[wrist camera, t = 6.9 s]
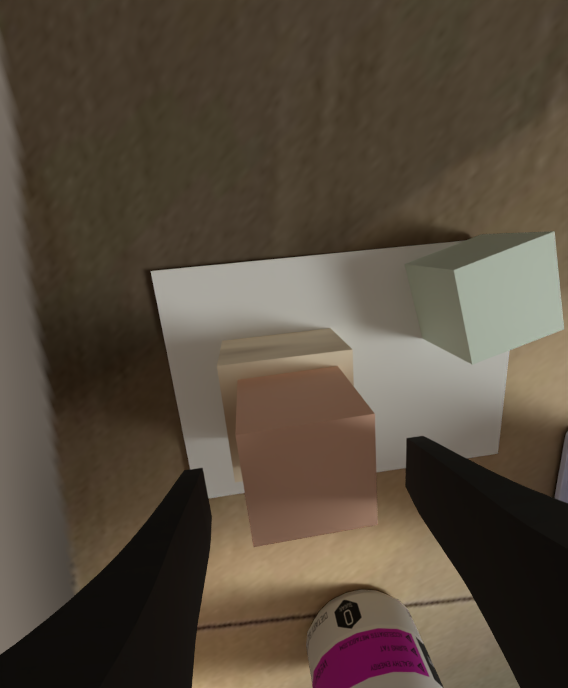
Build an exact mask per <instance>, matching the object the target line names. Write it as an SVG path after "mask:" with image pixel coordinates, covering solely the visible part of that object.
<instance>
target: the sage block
mask: <svg viewBox="0 0 568 688" xmlns="http://www.w3.org/2000/svg"><path fill="white" fill-rule="evenodd" d="M404 265H405V269H406V273H407V277H408V281H409V285H410V289H411V293H412V298H413V302H414V306H415V310H416V314H417V318H418V322H419V326H420V331H421V335H422V339H424V340H426V341H428V342H430V343H432V344H434V345H436V346H438V347H440V348H441V349H443V350H445V351H447V352H449V353H451V354H453V355H455V356H457V357H459V358H460V359H462V360H464V361H466V362H468V363H470V364H472V365H473V364H476V363H478V362H481V361H483V360H486V359H488V358H491V357H494V356H496V355H499V354H501V353H504V352H507V351H509V350H512V349H514V348H517V347H519V346H522V345H525V344H527V343H530V342H532V341H535V340H537V339H540V338H543V337H545V336H548V335H550V334H553V333H556V332H558V331H561V330H563V329H564V324H563V313H562V303H561V293H560V283H559V273H558V263H557V253H556V243H555V233H554V231H552V232H528V233H504V234H481V235H479V236H476V237H474V238H471V239H468V240H466V241H463V242H461V243H458V244H455V245H453V246H450V247H448V248H445V249H442V250H440V251H437V252H435V253H432V254H429V255H427V256H424V257H422V258H419V259H416V260H414V261H411V262H409V263H406V264H404Z"/></svg>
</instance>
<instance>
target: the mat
mask: <svg viewBox="0 0 568 688" xmlns="http://www.w3.org/2000/svg"><path fill="white" fill-rule="evenodd" d="M465 241H466V240H465ZM461 242H463V241H455V242H445V243H434V244H424V245H414V246H403V247H393V248H382V249H372V250H362V251H351V252H341V253H331V254H320V255H310V256H300V257H289V258H279V259H269V260H258V261H248V262H238V263H227V264H217V265H206V266H196V267H186V268H175V269H165V270H155V271H151V275H152V280H153V285H154V290H155V295H156V300H157V305H158V311H159V316H160V321H161V326H162V331H163V336H164V341H165V346H166V351H167V356H168V361H169V366H170V371H171V376H172V381H173V386H174V391H175V396H176V401H177V406H178V411H179V416H180V421H181V426H182V431H183V436H184V441H185V446H186V451H187V456H188V461H189V466H190V469H197V468H203V472H204V478H205V483H206V488H207V494H208V498H215V497H221V496H228V495H234V494H241V493H245V491H244V485H243V481H241V482H235V479H234V473H233V467H232V460H231V454H230V447H229V441H228V435H227V428H226V422H225V415H224V409H223V402H222V396H221V390H220V383H219V377H218V370H217V363H218V358H219V354H220V349H221V344H222V341H224V340H233V339H241V338H250V337H259V336H267V335H276V334H285V333H293V332H302V331H311V330H319V329H328V328H331V329H332V330H333V331H334V332H335V333H336V334H337V335H338V336H339V337H340V338H341V339H342V340H343V341H344V342H345V343H346V344H347V345H349V346H350V347H351V348H352V349H353V378H354V388H355V389H356V390H357V391H358V393H359V394H360V395H361V396H362V398H363V399H364V400H365V402H366V403H367V404H368V405H369V407H370V408H371V409H372V411H373V412H374V413H375V435H376V472H383V471H389V470H396V469H402V468H406V438H411V437H418V436H424V437H427V438H429V439H431V440H433V441H435V442H437V443H439V444H440V445H442V446H444V447H446V448H448V449H450V450H452V451H453V452H455V453H457V454H459V455H461V456H463V457H465V458H466V459H467V458H473V457H479V456H486V455H492V454H498V448H499V439H500V430H501V422H502V413H503V404H504V395H505V386H506V377H507V368H508V359H509V351H507V352H504V353H501V354H499V355H496V356H494V357H491V358H488V359H486V360H483V361H481V362H478V363H476V364H473V365H472V364H470V363H468V362H466V361H464V360H462V359H460V358H459V357H457V356H455V355H453V354H451V353H449V352H447V351H445V350H443V349H441V348H440V347H438V346H436V345H434V344H432V343H430V342H428V341H426V340H424V339H422V335H421V331H420V326H419V322H418V318H417V314H416V310H415V306H414V302H413V298H412V293H411V289H410V285H409V281H408V277H407V273H406V269H405V265H404V264H406V263H409V262H411V261H414V260H416V259H419V258H422V257H424V256H427V255H429V254H432V253H435V252H437V251H440V250H442V249H445V248H448V247H450V246H453V245H455V244H458V243H461Z"/></svg>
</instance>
